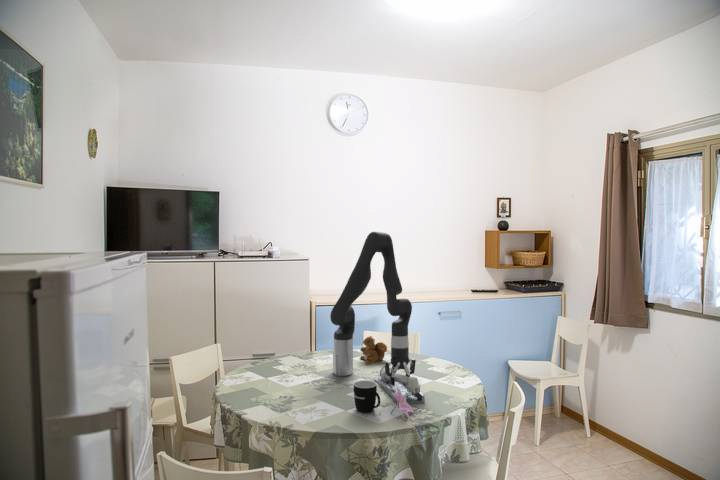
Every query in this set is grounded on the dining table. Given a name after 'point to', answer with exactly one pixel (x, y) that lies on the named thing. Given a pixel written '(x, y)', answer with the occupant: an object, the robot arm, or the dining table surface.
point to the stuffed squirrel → (373, 350)
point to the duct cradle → (410, 397)
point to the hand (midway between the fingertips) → (400, 384)
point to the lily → (402, 402)
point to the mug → (365, 396)
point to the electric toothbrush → (404, 381)
